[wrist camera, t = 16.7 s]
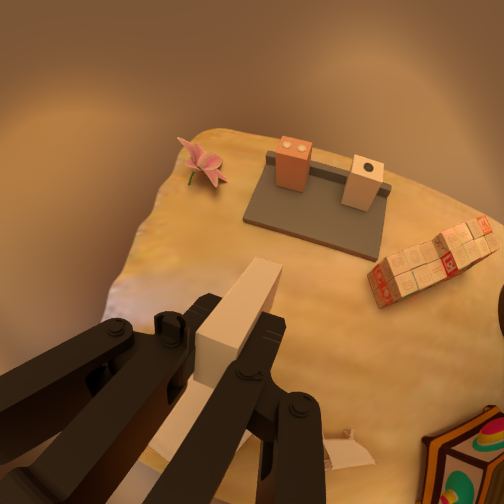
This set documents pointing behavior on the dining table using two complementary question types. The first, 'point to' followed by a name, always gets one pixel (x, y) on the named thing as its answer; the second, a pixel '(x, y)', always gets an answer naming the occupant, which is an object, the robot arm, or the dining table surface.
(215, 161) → the lily
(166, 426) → the salad plate
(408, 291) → the stack of blocks
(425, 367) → the dining table surface
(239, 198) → the dining table surface
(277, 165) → the key two
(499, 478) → the decorative lantern
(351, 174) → the key one
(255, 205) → the tray
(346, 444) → the origami figure
